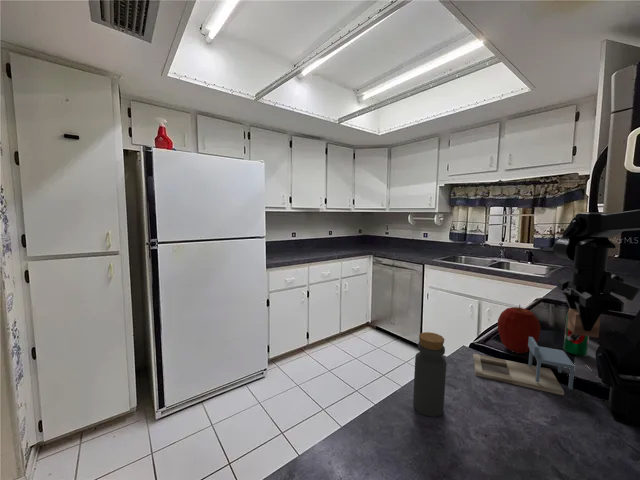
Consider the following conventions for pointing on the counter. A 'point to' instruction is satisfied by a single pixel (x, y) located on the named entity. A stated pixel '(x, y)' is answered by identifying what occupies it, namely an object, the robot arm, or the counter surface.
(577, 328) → the block
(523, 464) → the counter surface
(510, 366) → the board
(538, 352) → the light blue toy chair
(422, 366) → the bottle
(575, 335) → the soda can
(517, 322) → the apple
